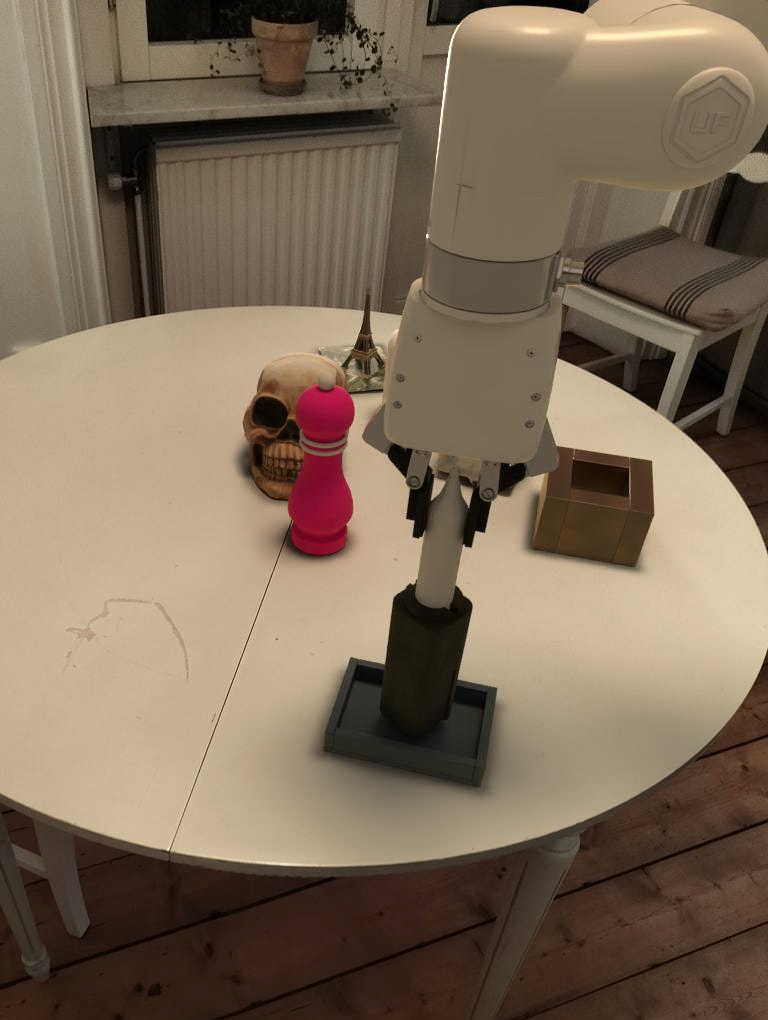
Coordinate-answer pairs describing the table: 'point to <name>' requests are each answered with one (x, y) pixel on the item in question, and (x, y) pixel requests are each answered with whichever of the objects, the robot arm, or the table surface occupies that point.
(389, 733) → the tray
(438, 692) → the candle
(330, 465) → the pepper mill
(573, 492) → the holder
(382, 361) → the eiffel tower figurine
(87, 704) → the table surface
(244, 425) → the skull
